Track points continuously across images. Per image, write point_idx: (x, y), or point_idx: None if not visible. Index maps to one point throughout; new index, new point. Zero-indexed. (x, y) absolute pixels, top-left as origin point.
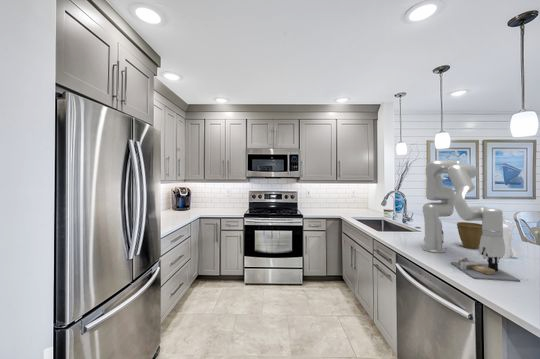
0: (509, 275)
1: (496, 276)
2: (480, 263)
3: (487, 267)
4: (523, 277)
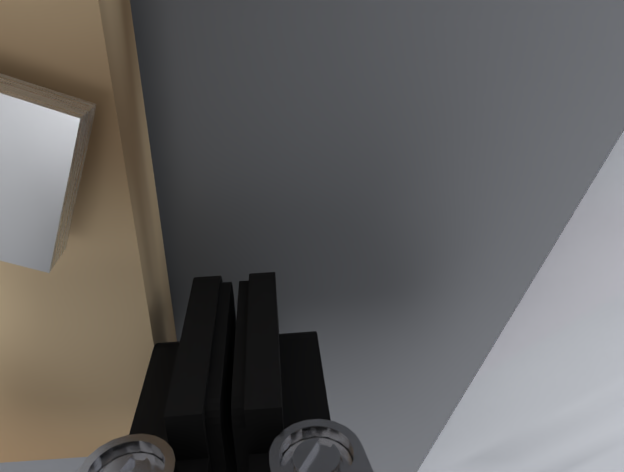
0: (416, 417)
1: None
2: (19, 224)
3: (138, 320)
4: (606, 419)
